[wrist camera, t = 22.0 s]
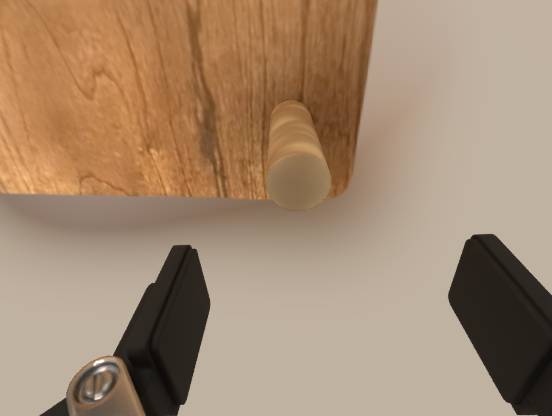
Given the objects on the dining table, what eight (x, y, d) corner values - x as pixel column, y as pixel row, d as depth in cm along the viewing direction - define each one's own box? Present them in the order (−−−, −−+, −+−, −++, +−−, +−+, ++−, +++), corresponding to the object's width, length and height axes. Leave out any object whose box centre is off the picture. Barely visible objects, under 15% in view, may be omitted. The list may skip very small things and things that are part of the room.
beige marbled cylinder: (311, 98, 26) (332, 151, 16) (311, 139, 28) (330, 210, 18) (268, 101, 26) (263, 156, 16) (271, 141, 28) (268, 213, 18)
